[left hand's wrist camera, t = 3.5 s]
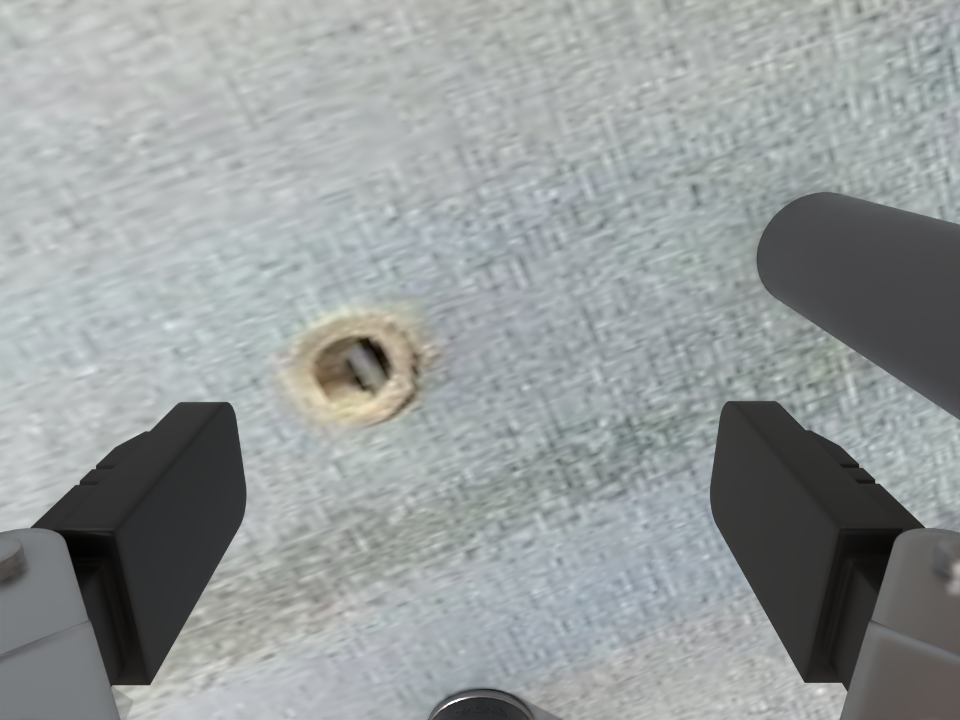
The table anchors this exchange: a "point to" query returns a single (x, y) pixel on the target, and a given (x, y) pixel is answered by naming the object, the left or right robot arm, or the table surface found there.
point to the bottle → (873, 285)
